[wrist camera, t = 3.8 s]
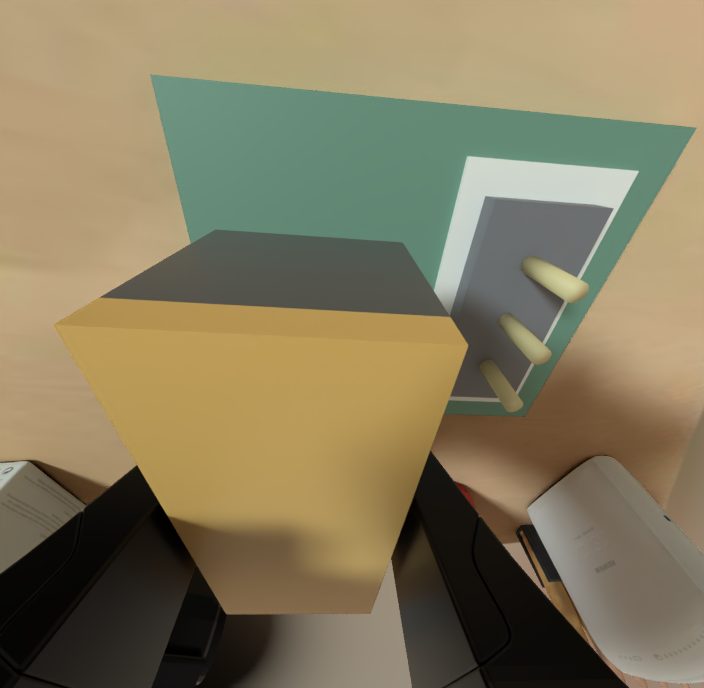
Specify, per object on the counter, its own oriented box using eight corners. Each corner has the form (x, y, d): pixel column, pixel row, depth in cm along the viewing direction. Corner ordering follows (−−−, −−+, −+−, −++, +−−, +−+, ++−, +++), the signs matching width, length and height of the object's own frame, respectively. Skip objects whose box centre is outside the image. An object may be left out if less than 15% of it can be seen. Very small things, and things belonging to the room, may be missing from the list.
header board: (513, 401, 21) (563, 473, 16) (237, 390, 20) (203, 465, 15) (660, 130, 12) (865, 115, 7) (172, 83, 11) (39, 29, 6)
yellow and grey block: (363, 478, 11) (370, 613, 8) (261, 476, 11) (226, 614, 8) (402, 242, 6) (467, 345, 3) (215, 229, 6) (54, 324, 3)
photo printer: (590, 449, 24) (768, 663, 14) (628, 458, 25) (822, 666, 15) (517, 507, 30) (607, 692, 20) (550, 513, 31) (654, 693, 20)
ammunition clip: (515, 532, 33) (588, 694, 23) (520, 525, 32) (599, 691, 22) (603, 531, 34) (712, 691, 24) (611, 524, 33) (729, 687, 23)
